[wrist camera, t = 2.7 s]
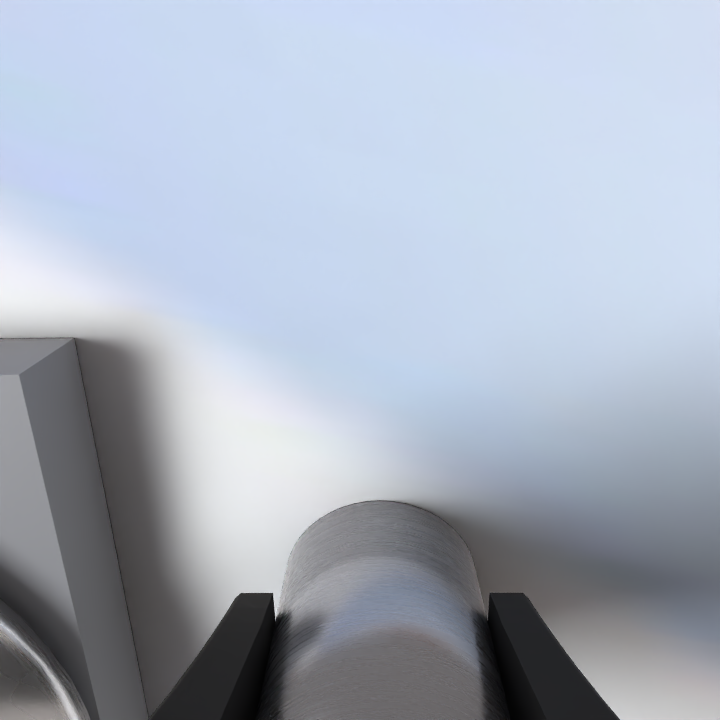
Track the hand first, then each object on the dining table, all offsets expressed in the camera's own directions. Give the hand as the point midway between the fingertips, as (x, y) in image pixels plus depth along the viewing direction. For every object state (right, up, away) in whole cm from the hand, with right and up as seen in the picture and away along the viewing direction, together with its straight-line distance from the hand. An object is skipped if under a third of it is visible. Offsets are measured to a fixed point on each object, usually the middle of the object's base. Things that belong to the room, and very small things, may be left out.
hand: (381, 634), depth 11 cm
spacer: (0, +1, +1) cm, 1 cm away
